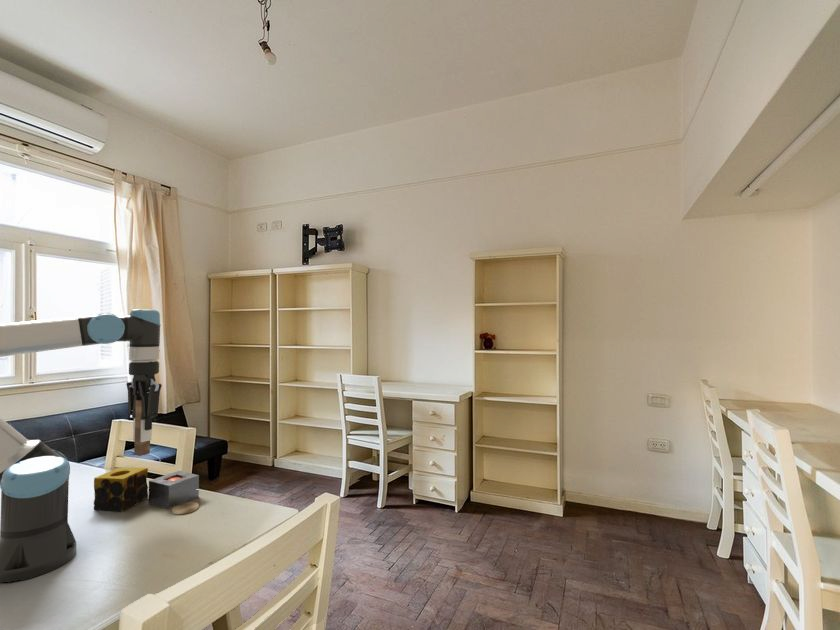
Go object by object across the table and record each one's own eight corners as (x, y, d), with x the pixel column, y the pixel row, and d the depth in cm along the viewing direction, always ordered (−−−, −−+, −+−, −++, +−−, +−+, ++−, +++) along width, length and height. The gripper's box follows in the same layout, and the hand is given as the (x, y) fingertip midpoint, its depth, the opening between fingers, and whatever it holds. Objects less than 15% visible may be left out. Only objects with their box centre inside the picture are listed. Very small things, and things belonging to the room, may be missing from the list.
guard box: (168, 508, 125) (168, 485, 125) (148, 503, 129) (148, 480, 129) (198, 496, 134) (198, 475, 134) (178, 491, 138) (179, 470, 138)
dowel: (139, 455, 119) (141, 400, 120) (134, 454, 120) (135, 400, 121) (149, 453, 122) (151, 399, 122) (144, 452, 123) (145, 398, 123)
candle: (148, 498, 133) (149, 467, 133) (123, 512, 123) (124, 478, 123) (120, 497, 134) (120, 466, 134) (92, 510, 124) (93, 477, 124)
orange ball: (172, 495, 129) (172, 482, 129) (164, 493, 130) (164, 480, 131) (183, 490, 132) (183, 478, 132) (176, 488, 134) (176, 476, 134)
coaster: (181, 516, 120) (181, 514, 120) (166, 511, 123) (166, 509, 123) (203, 506, 126) (203, 505, 126) (188, 502, 129) (188, 500, 129)
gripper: (173, 361, 122) (171, 440, 121) (141, 359, 129) (139, 434, 128) (147, 362, 115) (145, 446, 114) (115, 361, 122) (112, 440, 121)
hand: (142, 440), depth 121 cm, fingers closed on dowel, 3 cm apart
